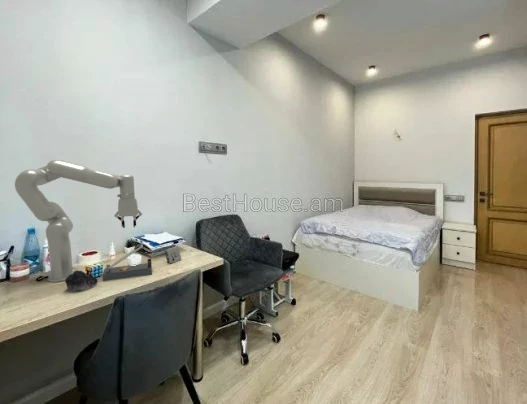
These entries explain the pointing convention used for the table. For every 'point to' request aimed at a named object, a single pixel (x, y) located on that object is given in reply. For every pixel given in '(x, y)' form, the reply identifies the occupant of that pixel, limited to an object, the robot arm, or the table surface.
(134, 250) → the thin grey rod
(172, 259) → the electrical switch
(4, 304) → the table surface
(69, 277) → the crystal cluster
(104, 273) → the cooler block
